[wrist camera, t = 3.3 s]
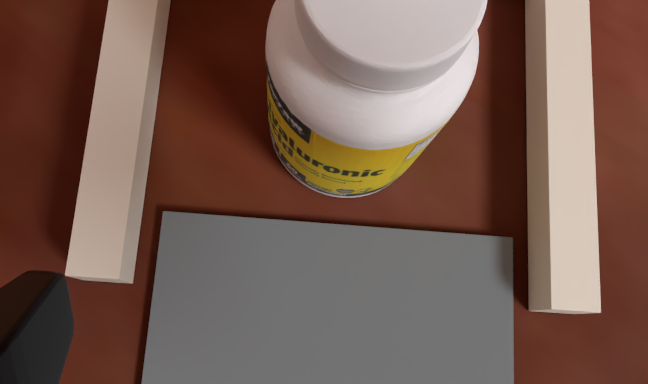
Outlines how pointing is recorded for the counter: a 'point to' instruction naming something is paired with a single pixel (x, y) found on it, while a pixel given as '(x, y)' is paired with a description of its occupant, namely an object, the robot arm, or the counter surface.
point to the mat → (327, 304)
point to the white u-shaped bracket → (542, 151)
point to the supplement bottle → (365, 85)
